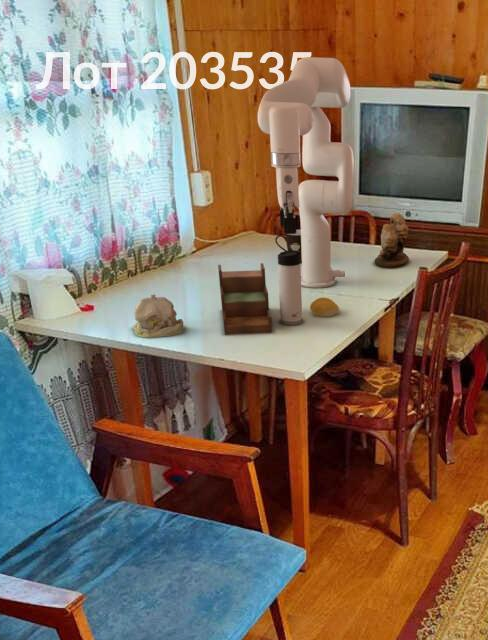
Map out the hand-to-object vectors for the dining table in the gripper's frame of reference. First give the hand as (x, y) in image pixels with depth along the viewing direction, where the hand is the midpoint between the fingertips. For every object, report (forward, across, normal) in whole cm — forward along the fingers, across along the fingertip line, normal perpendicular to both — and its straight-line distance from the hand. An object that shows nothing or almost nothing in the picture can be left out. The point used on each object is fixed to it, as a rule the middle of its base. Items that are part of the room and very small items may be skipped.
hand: (288, 229), depth 199 cm
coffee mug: (+25, +68, -9) cm, 73 cm away
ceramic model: (+26, -1, +37) cm, 45 cm away
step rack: (+26, +3, +13) cm, 29 cm away
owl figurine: (+25, +61, -44) cm, 79 cm away
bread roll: (+26, +8, -11) cm, 29 cm away
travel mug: (+26, +1, 0) cm, 26 cm away
